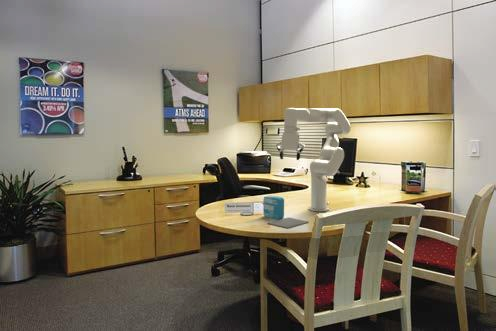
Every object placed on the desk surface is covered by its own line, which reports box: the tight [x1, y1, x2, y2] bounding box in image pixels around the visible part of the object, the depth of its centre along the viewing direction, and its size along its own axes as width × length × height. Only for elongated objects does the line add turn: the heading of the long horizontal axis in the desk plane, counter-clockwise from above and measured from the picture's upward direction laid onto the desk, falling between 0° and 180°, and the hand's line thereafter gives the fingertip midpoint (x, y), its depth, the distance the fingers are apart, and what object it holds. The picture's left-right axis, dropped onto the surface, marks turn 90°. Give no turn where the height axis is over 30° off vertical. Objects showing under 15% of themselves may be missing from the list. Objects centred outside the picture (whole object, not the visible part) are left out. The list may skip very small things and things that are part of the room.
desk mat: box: [267, 217, 309, 229], centre depth 214 cm, size 18×14×1 cm
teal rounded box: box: [262, 195, 285, 220], centre depth 228 cm, size 12×4×12 cm, turn 47°
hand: (289, 159), depth 228 cm, fingers open, 9 cm apart
